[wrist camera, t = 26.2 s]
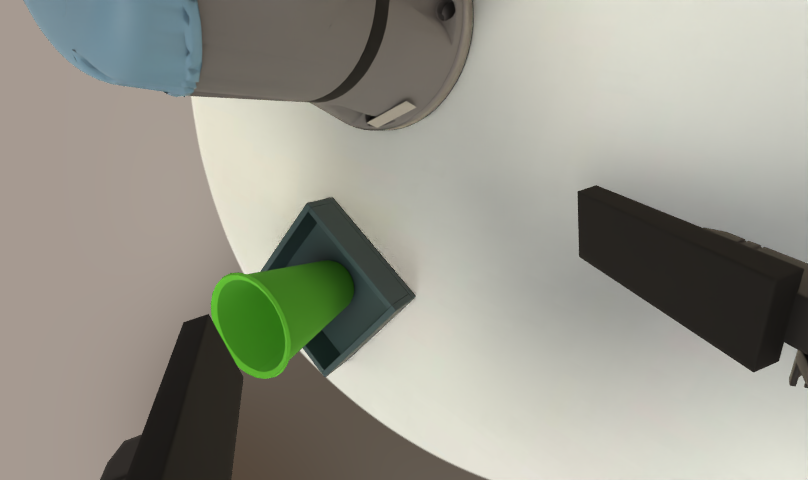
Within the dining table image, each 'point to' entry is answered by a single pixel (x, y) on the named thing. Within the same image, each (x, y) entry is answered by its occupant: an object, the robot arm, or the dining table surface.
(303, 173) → the dining table surface
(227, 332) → the cup
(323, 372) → the holder
